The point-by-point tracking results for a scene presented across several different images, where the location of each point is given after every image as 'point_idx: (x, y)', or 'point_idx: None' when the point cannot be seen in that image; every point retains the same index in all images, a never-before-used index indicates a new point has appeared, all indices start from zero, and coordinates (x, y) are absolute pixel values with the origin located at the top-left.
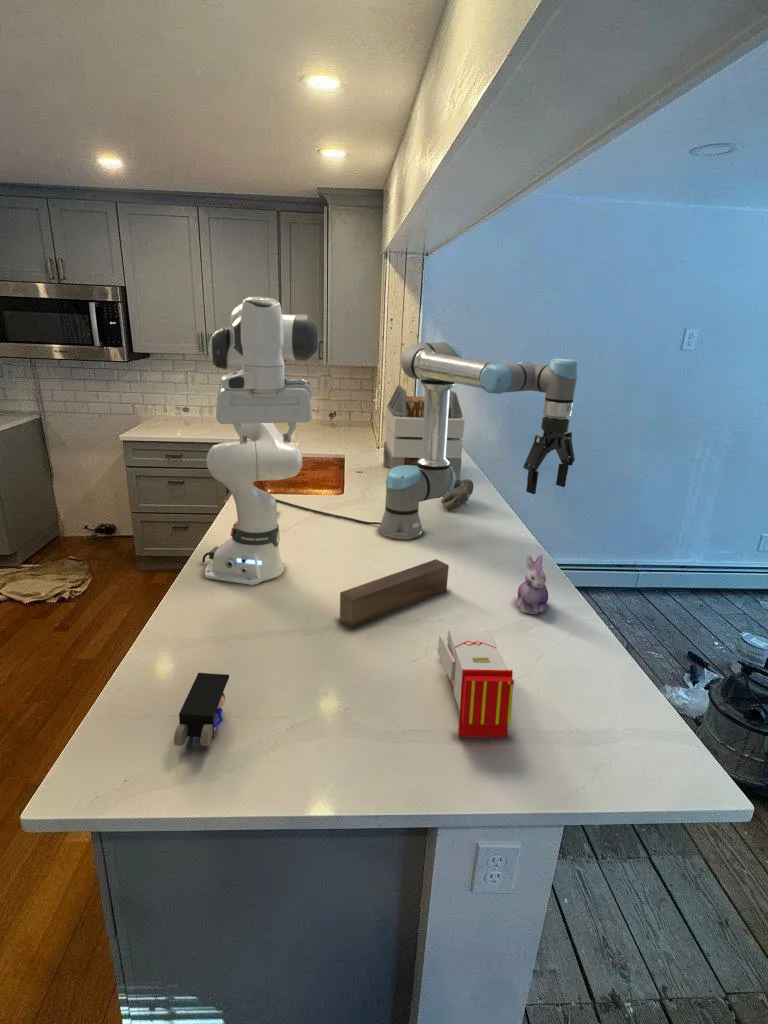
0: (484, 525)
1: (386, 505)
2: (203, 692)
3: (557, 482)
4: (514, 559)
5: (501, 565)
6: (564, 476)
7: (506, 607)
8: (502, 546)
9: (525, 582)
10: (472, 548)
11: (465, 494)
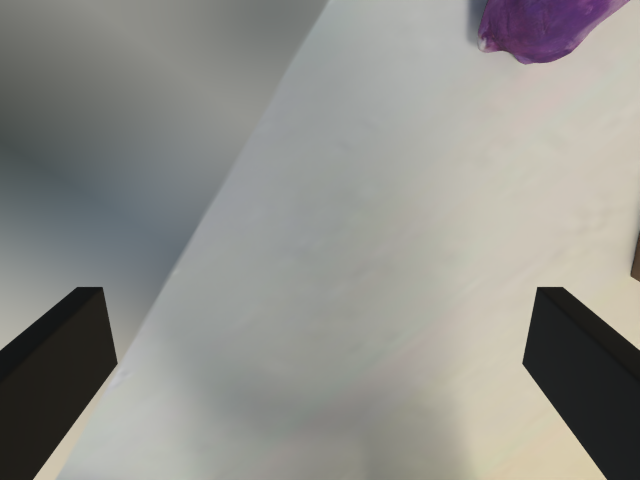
0: (179, 469)
1: None
2: None
3: (101, 369)
4: (290, 268)
5: (362, 260)
6: (34, 359)
7: (602, 48)
8: (247, 348)
9: (601, 15)
10: (342, 381)
11: None
